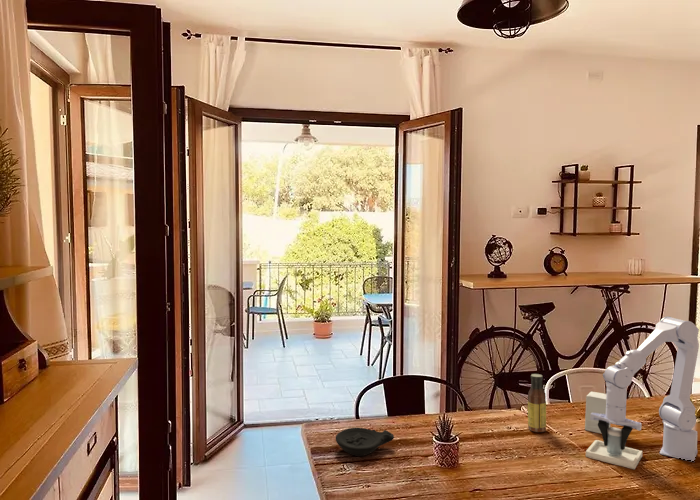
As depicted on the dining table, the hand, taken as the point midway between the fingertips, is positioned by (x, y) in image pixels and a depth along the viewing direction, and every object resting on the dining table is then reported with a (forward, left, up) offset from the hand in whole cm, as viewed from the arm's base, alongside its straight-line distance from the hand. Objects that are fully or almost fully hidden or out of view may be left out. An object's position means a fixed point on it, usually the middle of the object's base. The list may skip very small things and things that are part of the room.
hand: (614, 446), depth 172 cm
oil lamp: (+64, +47, -3) cm, 79 cm away
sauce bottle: (+27, -6, -3) cm, 28 cm away
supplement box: (+10, -21, -3) cm, 24 cm away
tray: (0, 0, -3) cm, 3 cm away
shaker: (0, 0, -2) cm, 2 cm away
